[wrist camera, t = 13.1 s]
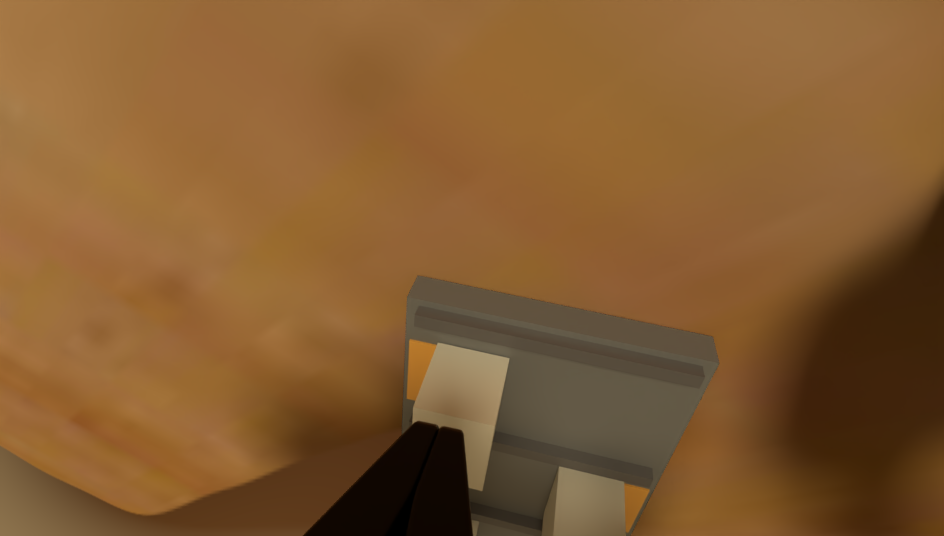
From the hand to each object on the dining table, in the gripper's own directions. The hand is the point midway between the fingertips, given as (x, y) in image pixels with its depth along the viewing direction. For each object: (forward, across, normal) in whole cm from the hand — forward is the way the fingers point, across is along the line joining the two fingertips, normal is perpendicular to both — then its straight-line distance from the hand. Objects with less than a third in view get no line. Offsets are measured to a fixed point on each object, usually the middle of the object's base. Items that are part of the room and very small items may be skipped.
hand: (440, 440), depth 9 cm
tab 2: (+10, -4, +16) cm, 19 cm away
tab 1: (+10, +1, +10) cm, 14 cm away
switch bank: (+12, -1, +16) cm, 20 cm away
